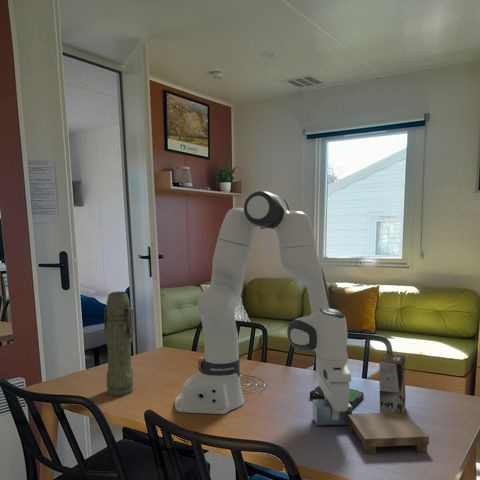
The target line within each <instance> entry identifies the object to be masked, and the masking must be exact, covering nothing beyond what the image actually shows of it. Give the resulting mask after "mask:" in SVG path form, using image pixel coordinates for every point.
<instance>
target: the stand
mask: <svg viewBox="0 0 480 480" xmlns="http://www.w3.org/2000/svg"><path fill="white" fill-rule="evenodd" d="M348 422H349V424H348V429H349V431H350V432H351V433H352V434H356V436H357V438H359V440H360V441H361V443H362V450H363V452H364V454H365V455H377V454H376V450H377V449H376V447H379V448H380V447H398V446H399V447H401V446H402V447H403V446H404V447H405V446H412V447H413V450H415V451H416V452H417V453H428V446H429V445H430V436H429V435H428V433H426V432H425V431H424V430H423V429H422V428H421V427H420V426H419V425H418V424H417V423H416V422H415V421H414V420H413V419H412V418H411V417H410V416H409V415H408V414H407V413H406V412H405V411H404V412H391V413H380V412H369V413H352V414H348Z"/></svg>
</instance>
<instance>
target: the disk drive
mask: <svg viewBox="0 0 480 480" xmlns="http://www.w3.org/2000/svg"><path fill="white" fill-rule="evenodd" d="M364 397H365V394H364V392H363V391H360V390H356V389H351V388H349V403H350V405H351V406H352V410H353V409H354V408H355V407H356V406H357V405H358V404H360V403H361V401H363V400H364ZM309 399H311V400H312V401H313V400H318V399H325V397H324V393H323V391H322V389H321V388H320V386H319V385H317V386H316V387H315V388H314V390H313V389H312V390H311V391H310V392H309Z"/></svg>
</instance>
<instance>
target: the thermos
mask: <svg viewBox="0 0 480 480" xmlns="http://www.w3.org/2000/svg"><path fill="white" fill-rule="evenodd" d="M103 320H104V333H105V344H106V346H107V372H106V387H107V395H108V396H110V397H114V398H116V397H117V398H118V397H123V396H124V397H125V396H127V395H130V394H132V393H133V391H134V389H133V384H134V371H133V369H132V345H131V344H132V343H133V337H134V309H133V307H132V306H130V299H129V296H128V293H127V292H126V291H112V292H110V293H108V296H107V300H106V305H105V307H104V309H103Z"/></svg>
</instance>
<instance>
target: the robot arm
mask: <svg viewBox="0 0 480 480" xmlns="http://www.w3.org/2000/svg"><path fill="white" fill-rule="evenodd" d="M259 229H260V230H263V229H264V230H265V229H271V230H274V231H275V233H276V235H277V238H278V246H279V247H278V249H279V259H280V264H281V265H282V268H283V270H284V271H285V272H286V273H287V274H289V275H290V276H292V277H294V278H296V279H298V280H300V281H301V282H302V283H303V284H304V285H305V287H306V289H307V295H308V299H309V300H308V301H309V305H310V308H311V310H310V311H311V313H310V314H309V315H305V316H302V317H298V318H296V319H294V320H292V321H290V323H289V324H288V326H287V331H286V332H287V333H286V334H287V339H288V341H289V343H290V345H291V346H292V347H293V348H294V349H295V350H298V351H314V352H315V356H316V357H315V365H316V366H315V367H316V368H315V371H316V373H317V374H318V386H320V388H321V389H322V391H323V393H324V397H325V399H328V401H329V403H330V404H331V406H332V412H331V417H332V419H333V420H339V413H340V412H344V411H347V409H348V406H349V389H350V383H351V382H352V374H351V371H350V368H349V363H348V361H349V360H348V358H349V357H348V352H347V345H348V326H347V323H348V322H347V319H346V316H345V314H344V313H343V312H341V311H340V310H338V309H336V308H335V309H334V308H332V306H331V301H330V297H329V290H328V287H327V282H326V278H325V277H326V276H325V273H324V270H323V268H322V266H321V265H320V262H319V258H318V254H317V247H316V246H317V245H316V239H315V238H316V237H315V234H314V229H313V226H312V221H311V218H310V216H309V215H308V214H307V213H306V212H304V211H301V210H300V211H299V210H290V207H289V205H288V203H287V201H286V200H285V199H284V198H282V197H281V196H279V195H278V194H277V193H273V192H269V191H266V190H258V191H255V192H252V193H251V194H250V195H248V196H247V198H246V199H245V201H244V204H243V207H233V208H231V209H229V210H228V211H227V212H226V213H225V217H224V218H223V222H222V224H221V226H220V229H219V233H218V235H217V240H216V245H215V249H214V253H213V258H212V262H211V264H212V270H211V277H210V278H211V280H210V285H208V287H205V288H204V289H203V291H202V292H201V294H200V296H199V298H198V302H197V308H198V312H199V314H200V321H201V326H202V330H203V338H204V341H203V342H204V345H203V346H204V357H202V356H200V357H198V359H197V363H198V370H197V371H196V372H195V373H194V374H193V375H191V376H190V377H188V378H187V379H186V380H185V382H184V383H183V386H182V389H181V393H179V394H178V395H177V396H176V398H175V401H174V409H175V410H176V412H179V413H191V414H192V413H193V414H213V415H216V414H217V415H225V414H227V413H228V412H230V411H232V410H236V409H238V408H241V406H243V405H244V403H245V398H244V395H243V391H242V386H241V379H240V376H241V370H242V368H241V358H240V357H239V355H240V354H239V333H238V330H237V328H238V327H237V324H236V313H235V311H236V309H237V308H238V306H239V305H240V302H241V298H242V292H243V287H244V281H245V276H246V275H245V274H246V268H247V264H248V261H249V257H250V252H251V248H252V244H253V238H254V236H255V234H256V232H257V231H258V230H259Z"/></svg>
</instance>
